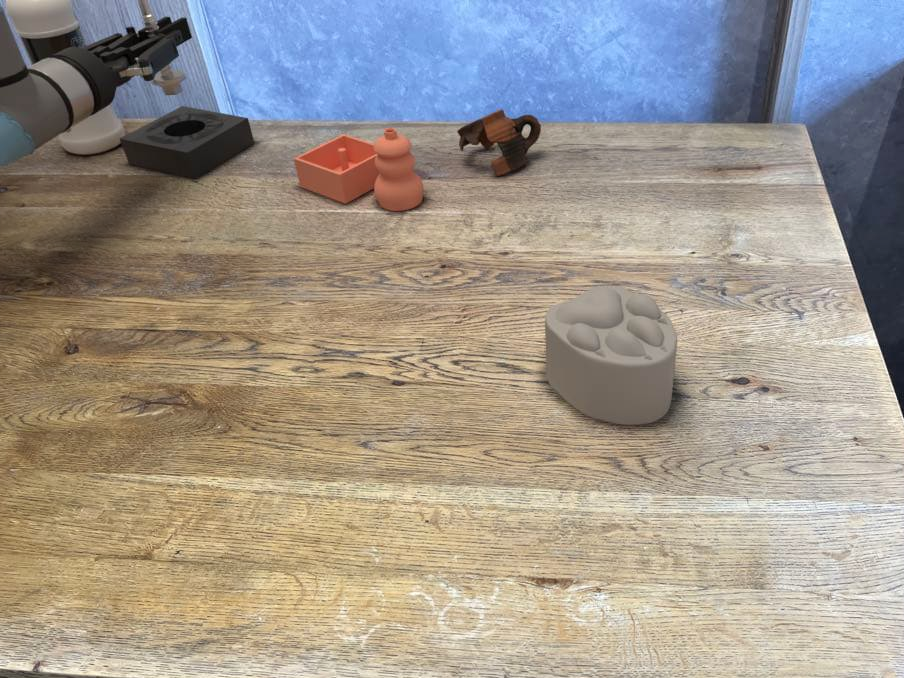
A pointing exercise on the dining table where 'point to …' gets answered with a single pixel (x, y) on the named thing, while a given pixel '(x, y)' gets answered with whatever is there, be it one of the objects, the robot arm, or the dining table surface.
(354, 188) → the pottery
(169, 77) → the screw
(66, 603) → the dining table surface
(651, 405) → the lumpy-topped squat cylinder
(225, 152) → the hole plate
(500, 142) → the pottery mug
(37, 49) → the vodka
